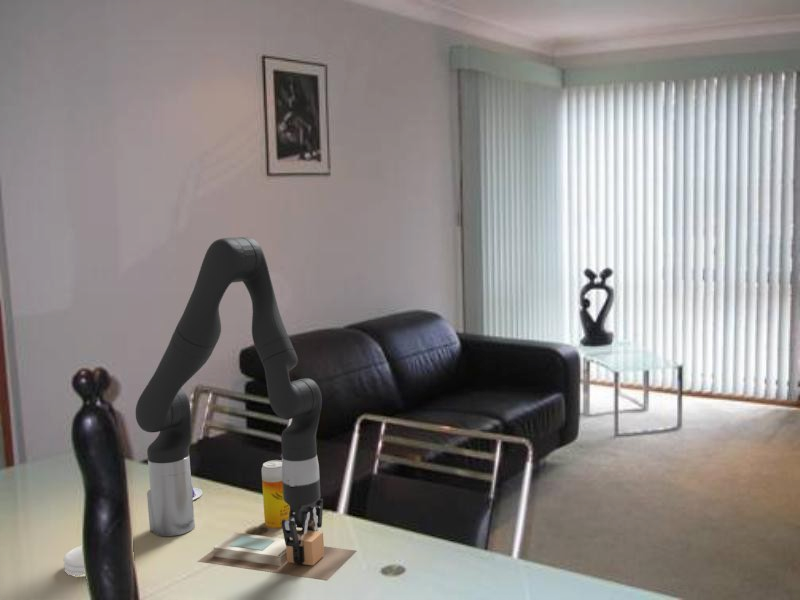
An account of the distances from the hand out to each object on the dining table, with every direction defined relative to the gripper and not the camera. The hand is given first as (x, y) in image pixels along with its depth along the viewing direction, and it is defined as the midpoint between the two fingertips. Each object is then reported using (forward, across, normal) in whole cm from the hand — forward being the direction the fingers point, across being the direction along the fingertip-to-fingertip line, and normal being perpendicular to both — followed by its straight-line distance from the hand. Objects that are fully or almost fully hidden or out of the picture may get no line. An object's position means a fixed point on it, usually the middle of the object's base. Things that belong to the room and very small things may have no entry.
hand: (305, 556), depth 173 cm
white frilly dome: (+2, +14, -44) cm, 46 cm away
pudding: (+2, -26, -50) cm, 57 cm away
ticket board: (+2, 0, -7) cm, 7 cm away
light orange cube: (0, 0, 0) cm, 0 cm away
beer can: (+2, -16, -16) cm, 22 cm away
